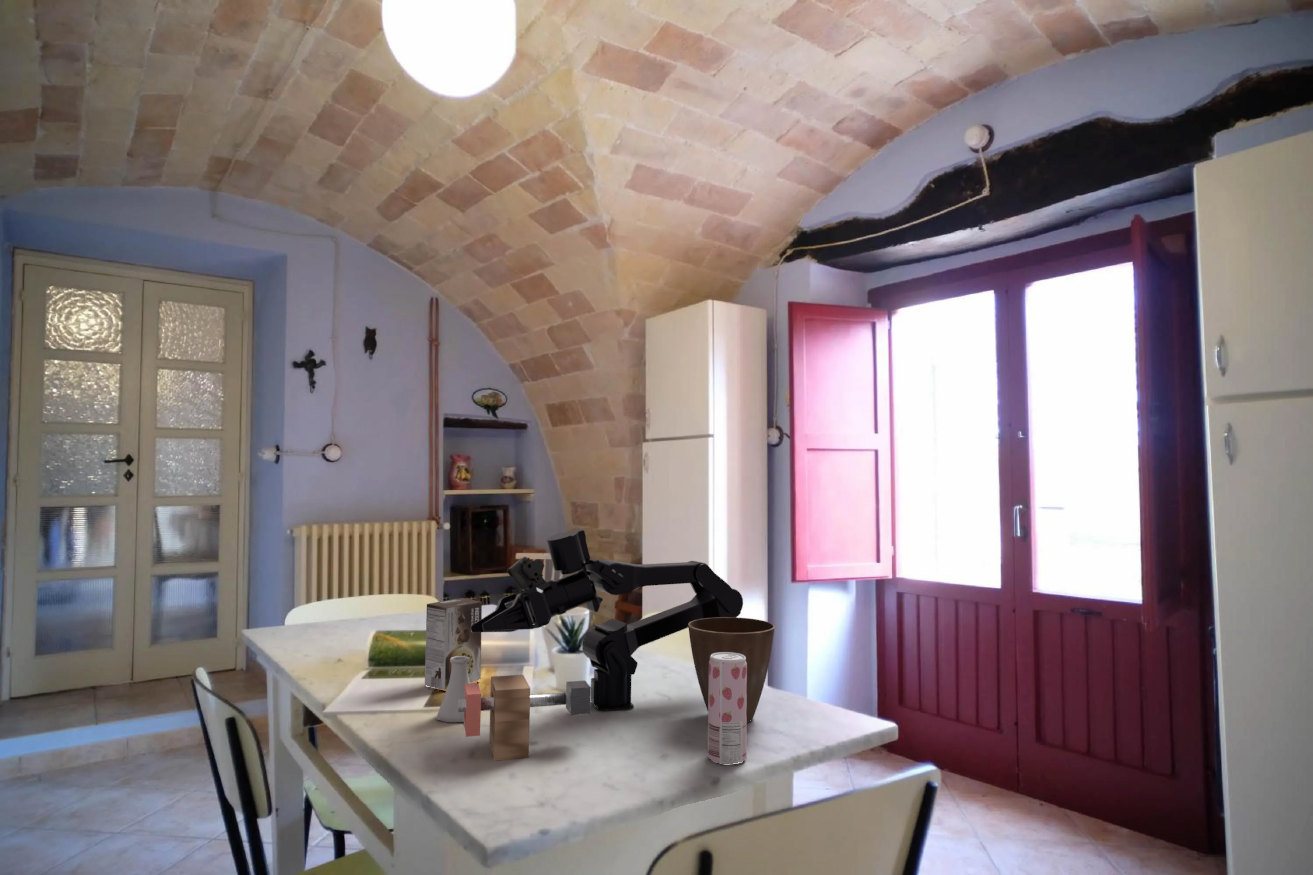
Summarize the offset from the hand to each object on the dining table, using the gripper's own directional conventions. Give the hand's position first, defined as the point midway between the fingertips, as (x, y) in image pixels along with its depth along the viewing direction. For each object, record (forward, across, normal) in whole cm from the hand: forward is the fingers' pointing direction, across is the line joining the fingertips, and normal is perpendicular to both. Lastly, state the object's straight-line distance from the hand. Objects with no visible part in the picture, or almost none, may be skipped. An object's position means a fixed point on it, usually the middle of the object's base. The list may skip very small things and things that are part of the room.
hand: (476, 628), depth 129 cm
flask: (+6, -9, +13) cm, 17 cm away
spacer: (+7, +10, +13) cm, 18 cm away
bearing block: (+3, +10, +18) cm, 21 cm away
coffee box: (+2, -29, +10) cm, 31 cm away
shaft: (0, +11, +14) cm, 18 cm away
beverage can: (-23, +25, +30) cm, 46 cm away
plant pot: (-34, +9, +30) cm, 46 cm away
